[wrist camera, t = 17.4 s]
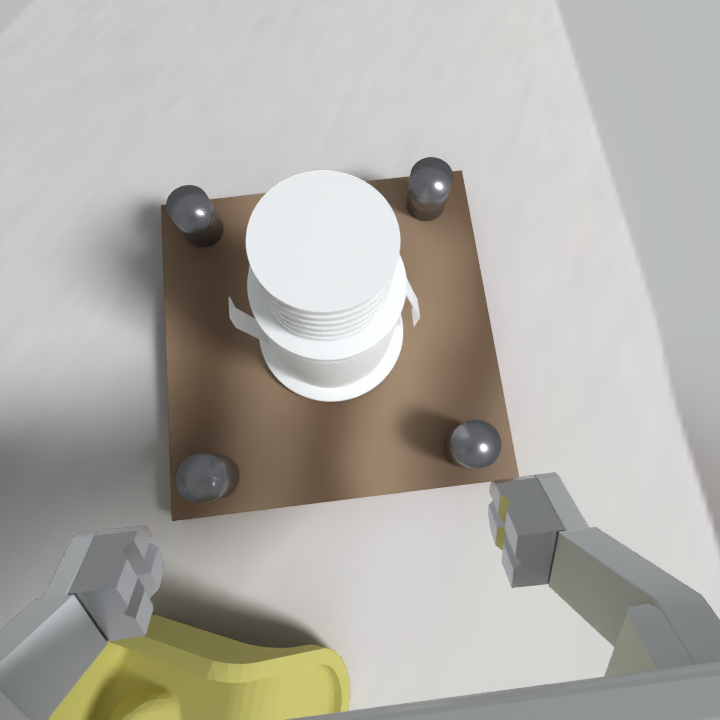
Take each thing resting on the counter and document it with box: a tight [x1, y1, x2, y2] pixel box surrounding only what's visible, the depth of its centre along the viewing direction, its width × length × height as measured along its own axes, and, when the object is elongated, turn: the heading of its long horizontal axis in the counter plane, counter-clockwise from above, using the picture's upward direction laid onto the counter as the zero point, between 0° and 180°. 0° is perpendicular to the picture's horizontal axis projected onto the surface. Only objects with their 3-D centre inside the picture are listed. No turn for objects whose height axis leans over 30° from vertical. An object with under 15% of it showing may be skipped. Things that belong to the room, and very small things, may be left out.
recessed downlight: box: [229, 170, 420, 402], centre depth 19 cm, size 8×7×10 cm
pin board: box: [161, 157, 519, 521], centre depth 24 cm, size 16×16×4 cm
